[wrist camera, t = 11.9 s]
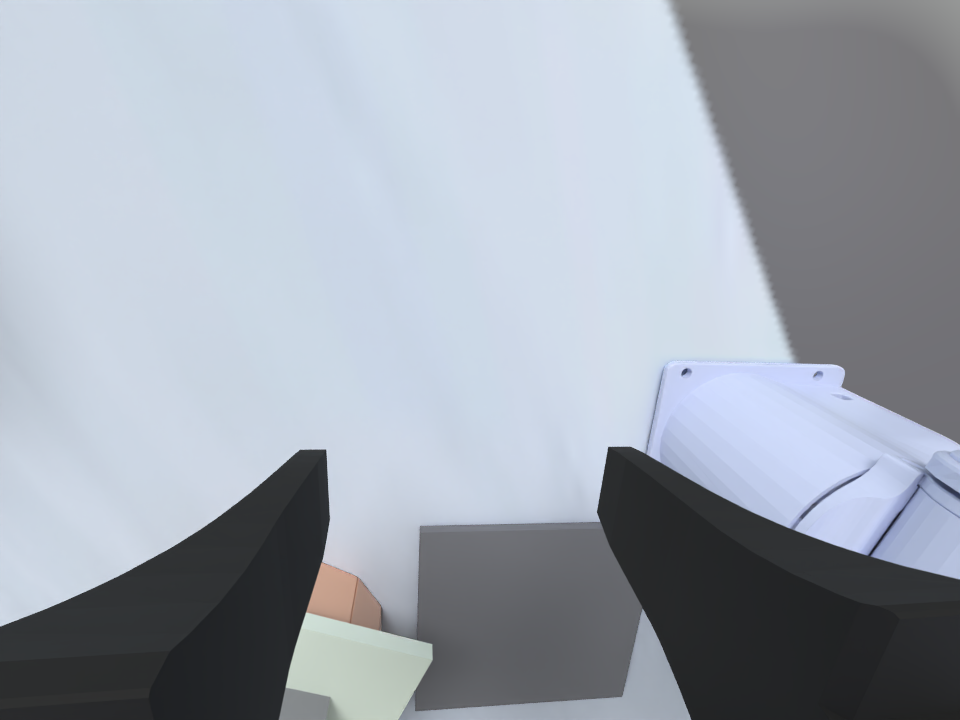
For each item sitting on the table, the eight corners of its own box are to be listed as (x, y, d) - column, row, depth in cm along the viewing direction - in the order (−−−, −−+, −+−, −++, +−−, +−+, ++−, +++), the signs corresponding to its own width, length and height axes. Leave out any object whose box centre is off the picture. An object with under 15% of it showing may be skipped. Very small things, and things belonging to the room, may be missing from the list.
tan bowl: (381, 558, 25) (373, 622, 22) (381, 680, 28) (375, 756, 25) (199, 563, 24) (158, 632, 20) (220, 691, 27) (188, 771, 23)
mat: (656, 521, 27) (660, 527, 26) (619, 688, 31) (622, 696, 30) (419, 526, 25) (419, 532, 24) (415, 702, 29) (415, 711, 29)
